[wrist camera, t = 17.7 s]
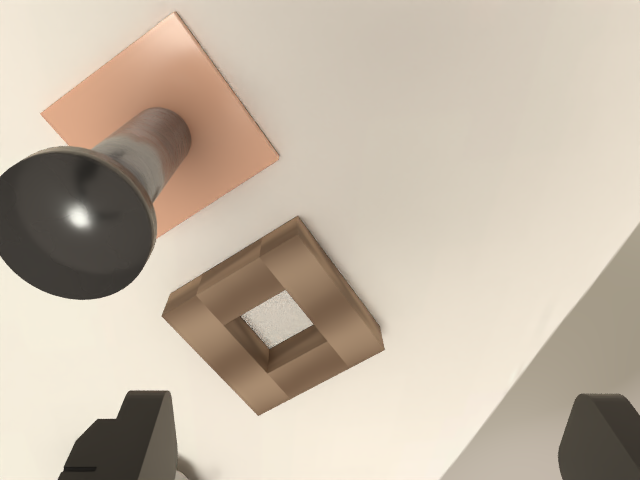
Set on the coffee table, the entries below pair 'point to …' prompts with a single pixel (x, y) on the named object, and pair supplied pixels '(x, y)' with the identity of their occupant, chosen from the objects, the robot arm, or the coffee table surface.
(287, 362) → the collar
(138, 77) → the pad
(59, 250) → the peg
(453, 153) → the coffee table surface
